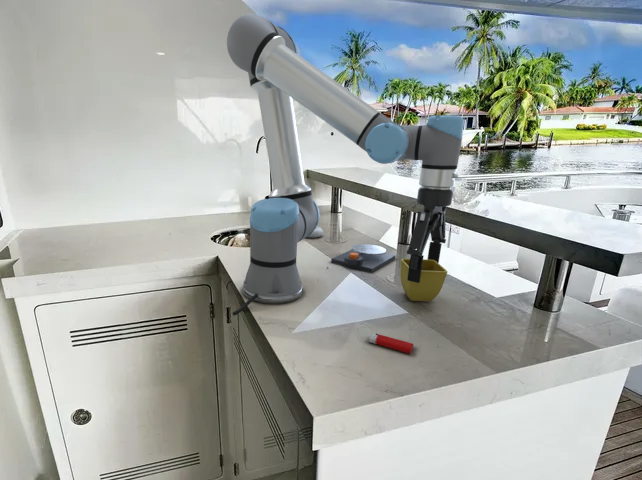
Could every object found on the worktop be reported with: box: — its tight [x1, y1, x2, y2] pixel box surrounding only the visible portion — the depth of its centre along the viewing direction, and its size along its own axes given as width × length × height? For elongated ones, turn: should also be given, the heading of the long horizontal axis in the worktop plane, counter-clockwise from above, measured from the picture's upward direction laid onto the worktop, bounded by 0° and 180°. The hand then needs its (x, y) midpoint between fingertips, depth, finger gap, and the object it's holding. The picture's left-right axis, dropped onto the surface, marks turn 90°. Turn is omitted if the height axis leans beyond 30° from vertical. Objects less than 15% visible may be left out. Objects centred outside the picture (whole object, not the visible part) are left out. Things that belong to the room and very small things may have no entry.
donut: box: [306, 226, 324, 239], centre depth 153 cm, size 10×4×10 cm
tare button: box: [349, 253, 358, 259], centre depth 118 cm, size 3×3×2 cm
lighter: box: [368, 333, 414, 355], centre depth 74 cm, size 3×1×8 cm
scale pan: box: [351, 243, 387, 255], centre depth 125 cm, size 11×11×1 cm
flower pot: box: [400, 258, 448, 302], centre depth 95 cm, size 9×9×9 cm
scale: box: [330, 249, 397, 274], centre depth 123 cm, size 19×14×3 cm
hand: (423, 273), depth 94 cm, fingers open, 13 cm apart
